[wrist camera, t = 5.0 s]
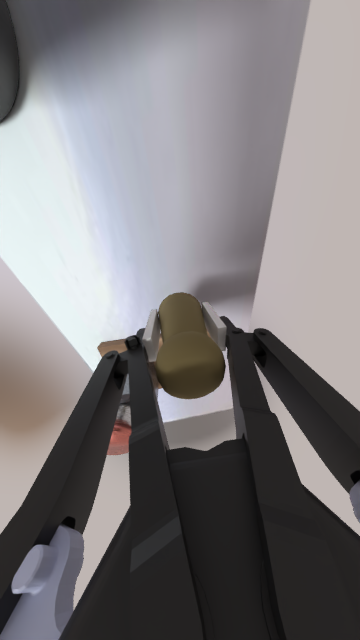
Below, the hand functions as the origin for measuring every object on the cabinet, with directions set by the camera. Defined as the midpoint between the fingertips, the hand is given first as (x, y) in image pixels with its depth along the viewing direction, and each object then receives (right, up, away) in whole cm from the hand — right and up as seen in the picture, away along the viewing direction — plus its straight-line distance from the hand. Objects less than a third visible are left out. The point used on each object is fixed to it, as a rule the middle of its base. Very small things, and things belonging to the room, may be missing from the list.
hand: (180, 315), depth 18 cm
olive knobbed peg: (0, 0, +1) cm, 1 cm away
